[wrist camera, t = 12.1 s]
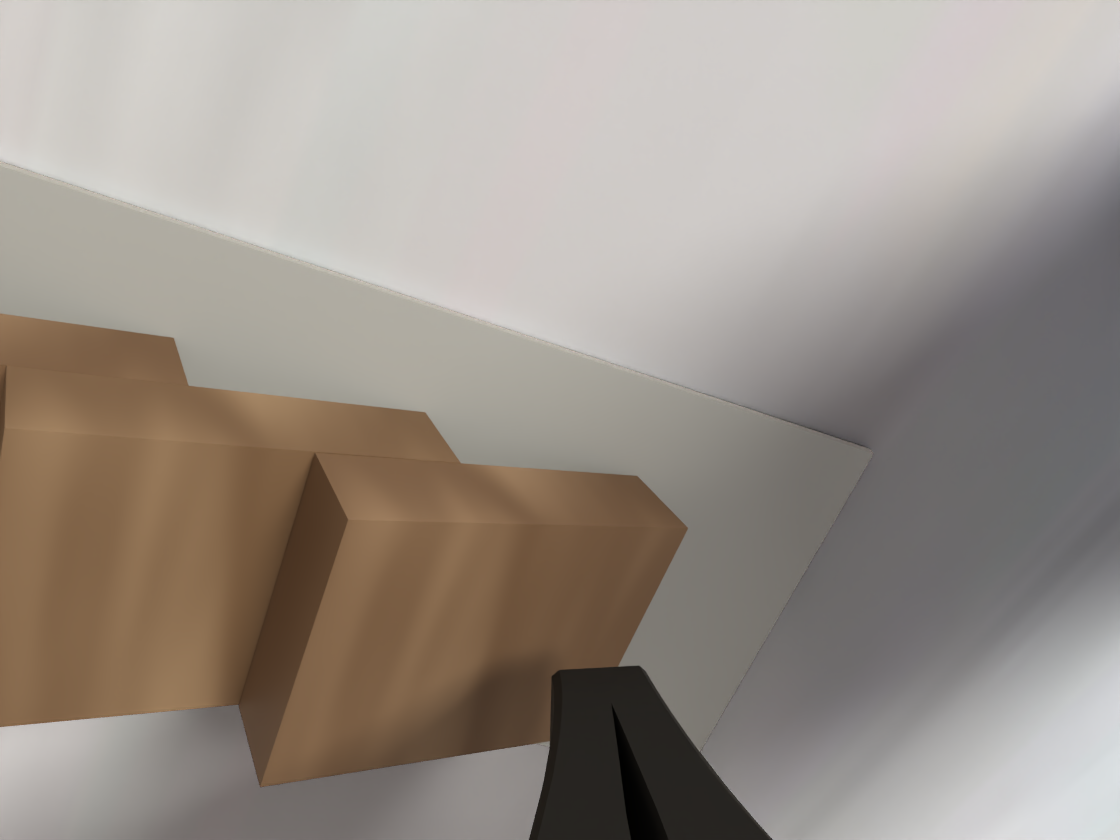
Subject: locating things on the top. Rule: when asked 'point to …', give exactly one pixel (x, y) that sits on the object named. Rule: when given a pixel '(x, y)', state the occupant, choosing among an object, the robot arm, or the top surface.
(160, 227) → the runner mat
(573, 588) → the tile
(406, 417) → the tile
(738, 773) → the top surface
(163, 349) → the tile
